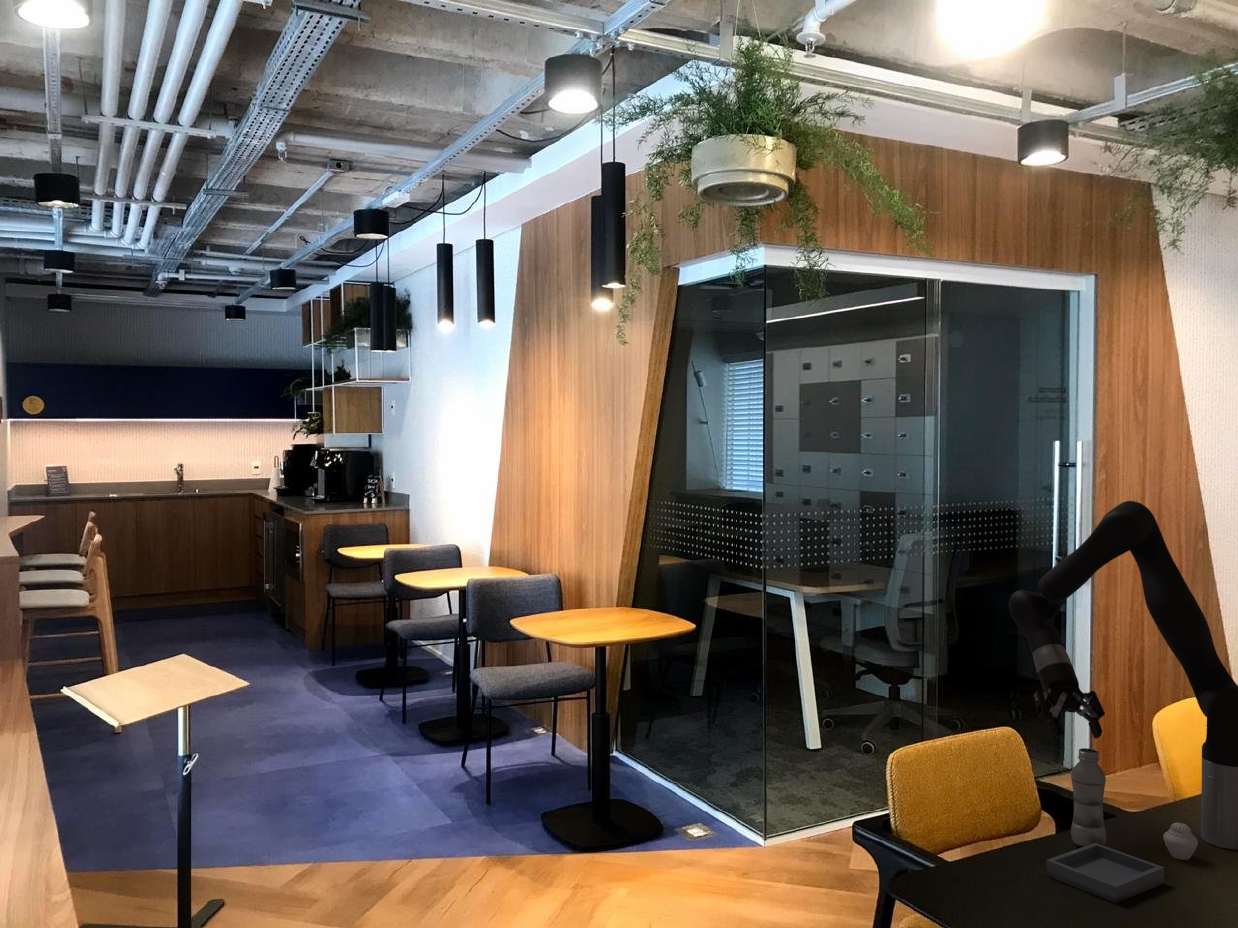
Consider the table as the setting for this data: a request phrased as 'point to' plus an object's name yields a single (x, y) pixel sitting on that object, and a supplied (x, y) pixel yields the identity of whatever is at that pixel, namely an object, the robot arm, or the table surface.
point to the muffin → (1180, 841)
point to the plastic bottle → (1088, 799)
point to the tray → (1105, 872)
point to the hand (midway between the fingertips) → (1079, 736)
